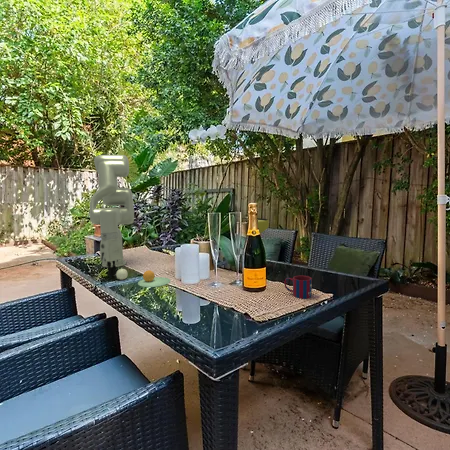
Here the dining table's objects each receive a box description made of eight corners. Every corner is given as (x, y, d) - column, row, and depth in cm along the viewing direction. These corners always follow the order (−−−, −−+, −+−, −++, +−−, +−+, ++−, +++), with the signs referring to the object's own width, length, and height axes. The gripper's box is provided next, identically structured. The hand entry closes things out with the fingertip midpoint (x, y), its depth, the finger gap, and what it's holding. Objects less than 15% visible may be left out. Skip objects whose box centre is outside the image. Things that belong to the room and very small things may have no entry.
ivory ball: (122, 274, 137) (121, 283, 139) (130, 269, 141) (129, 278, 143) (114, 269, 139) (113, 278, 141) (122, 265, 143) (121, 274, 145)
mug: (308, 300, 110) (308, 281, 109) (281, 295, 116) (281, 277, 115) (313, 294, 116) (314, 276, 115) (288, 290, 121) (288, 273, 120)
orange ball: (152, 275, 133) (148, 285, 135) (158, 272, 138) (154, 281, 139) (143, 269, 135) (139, 279, 136) (149, 267, 139) (145, 276, 141)
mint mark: (131, 285, 132) (131, 284, 132) (150, 276, 145) (150, 276, 145) (159, 288, 127) (159, 287, 127) (176, 279, 140) (176, 278, 140)
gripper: (104, 238, 134) (107, 280, 136) (127, 234, 148) (129, 271, 150) (91, 238, 137) (94, 278, 139) (114, 233, 150) (116, 270, 153)
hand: (112, 274), depth 144 cm, fingers closed
